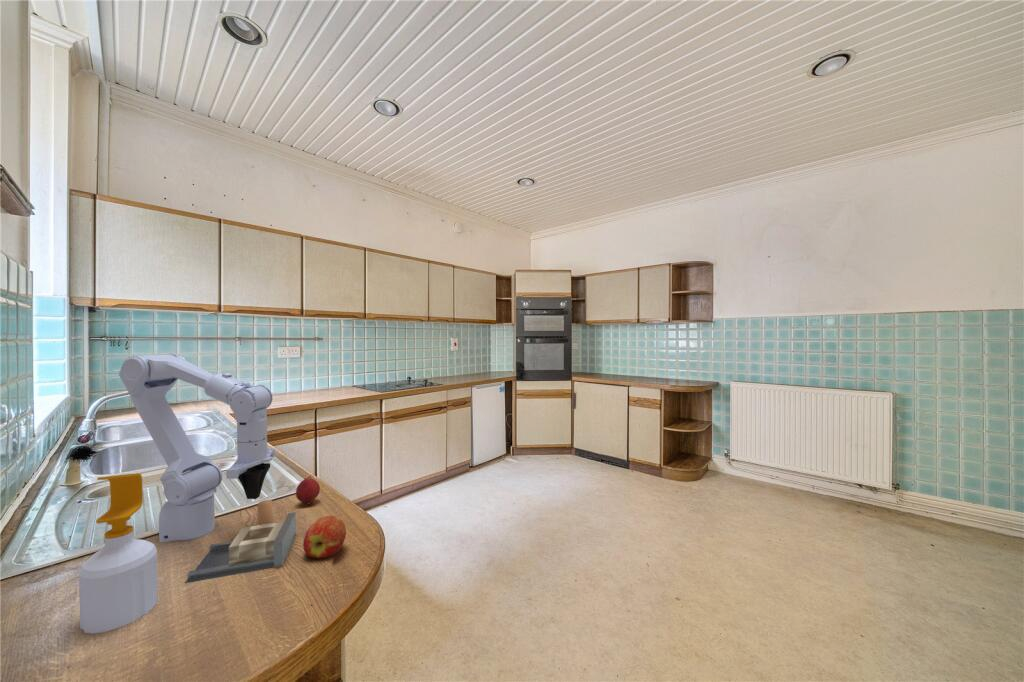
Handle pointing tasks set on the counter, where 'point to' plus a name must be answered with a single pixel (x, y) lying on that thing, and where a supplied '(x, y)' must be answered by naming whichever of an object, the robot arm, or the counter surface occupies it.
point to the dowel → (265, 512)
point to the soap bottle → (119, 565)
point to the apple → (324, 537)
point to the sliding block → (254, 543)
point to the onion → (307, 490)
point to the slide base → (219, 562)
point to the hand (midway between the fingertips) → (253, 497)
